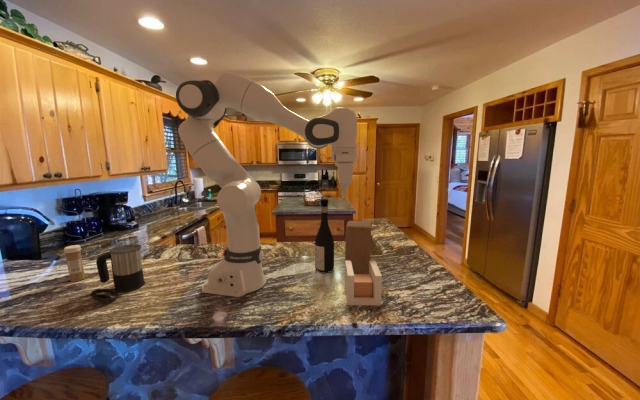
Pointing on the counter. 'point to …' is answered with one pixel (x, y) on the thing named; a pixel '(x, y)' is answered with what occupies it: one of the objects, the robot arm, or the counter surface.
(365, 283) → the block
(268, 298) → the counter surface
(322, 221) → the wine bottle
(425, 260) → the counter surface
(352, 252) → the wooden block
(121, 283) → the milk frother
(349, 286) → the chute
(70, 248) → the pill bottle
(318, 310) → the counter surface
